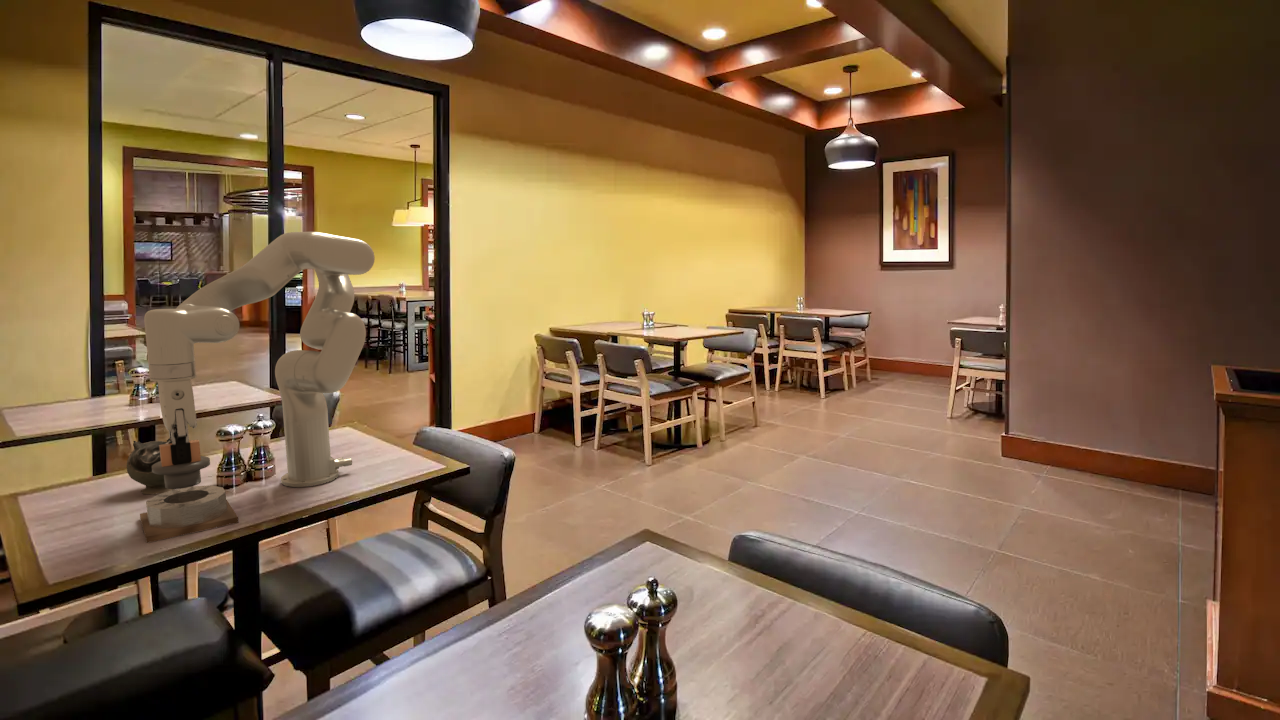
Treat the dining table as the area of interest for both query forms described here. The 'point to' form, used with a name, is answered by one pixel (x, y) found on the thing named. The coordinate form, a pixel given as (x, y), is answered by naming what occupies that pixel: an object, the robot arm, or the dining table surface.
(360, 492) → the dining table surface
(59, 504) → the dining table surface
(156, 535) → the mount plate
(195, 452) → the multicoloured piece
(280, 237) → the robot arm
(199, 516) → the grey stone basin
